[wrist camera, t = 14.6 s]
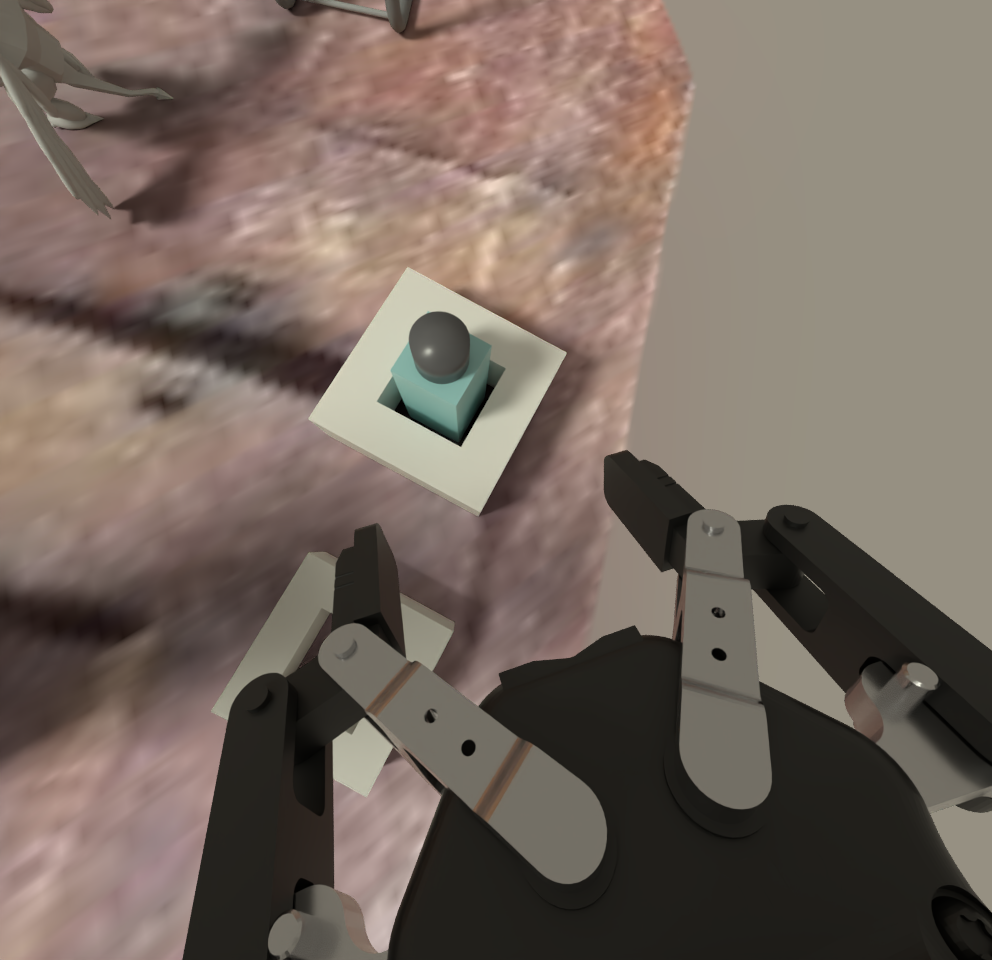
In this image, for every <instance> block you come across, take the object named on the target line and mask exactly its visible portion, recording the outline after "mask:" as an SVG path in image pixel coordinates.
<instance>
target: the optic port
mask: <svg viewBox="0 0 992 960" xmlns="http://www.w3.org/2000/svg"><path fill="white" fill-rule="evenodd" d="M428 311H429V312H436V311H441V312H447V313H450V314H453V315H455V316H456V317H458V318H459V319H460V320H461V321H462V322H463V323H464V324H465V325H466V327H467V329H468V332H469V333H470V334H471V335H473V336H475V337H477V338H479V339H481V340H482V341H484V342H486V343H488V344H490V345H492V348H491V356H490V363H489V371H488V378H487V384H488V385H490V386H492V387H494V390H493V392H492V394H491V395H490V397H489V399H488V401H487V402H486V404H485V406H484V408H483V410H482V411H481V413H480V415H479V417H478V418H477V420H476V422H475V424H474V425H473V427H472V429H471V431H470V432H469V434H468V436H467V438H466V439H465V441H464V443H463V445H462V446H461V447H460V446H458V445H456V444H454V443H452V442H451V441H449V440H447V439H445V438H443V437H441V436H439V435H438V434H436V433H434V432H432V431H430V430H428V429H427V428H425V427H423V426H421V425H419V424H417V423H415V422H414V421H412V420H410V419H408V418H406V417H404V416H403V415H401V414H399V413H397V412H395V409H396V407H397V406H398V404H399V403H400V401H401V399H402V397H401V394H400V392H399V390H398V387H397V385H396V383H395V380H394V378H393V376H392V373H391V371H390V370H391V368H392V367H393V365H394V364H395V362H396V360H397V359H398V357H399V356H400V354H401V353H402V351H403V349H404V348H405V346H406V345H407V343H408V342H409V333H410V330H411V327H412V326H413V324H414V323H415V321H416V320H417V319H419V318H420V317H421V316H423V315H425V314H426V313H427V312H428ZM566 354H567V352H565V351H563V350H561V349H559V348H557V347H556V346H554V345H552V344H550V343H548V342H546V341H544V340H542V339H541V338H539V337H537V336H535V335H533V334H531V333H529V332H528V331H526V330H524V329H522V328H520V327H518V326H516V325H515V324H513V323H511V322H509V321H507V320H505V319H503V318H502V317H500V316H498V315H496V314H494V313H492V312H490V311H489V310H487V309H485V308H483V307H481V306H479V305H477V304H476V303H474V302H472V301H470V300H468V299H466V298H464V297H462V296H461V295H459V294H457V293H455V292H453V291H451V290H449V289H448V288H446V287H444V286H442V285H440V284H438V283H436V282H435V281H433V280H431V279H429V278H427V277H425V276H423V275H422V274H420V273H418V272H416V271H414V270H412V269H410V268H409V267H407V269H406V270H405V272H404V273H403V275H402V276H401V278H400V279H399V281H398V282H397V284H396V285H395V287H394V289H393V290H392V292H391V293H390V295H389V296H388V298H387V299H386V301H385V302H384V304H383V305H382V307H381V308H380V310H379V311H378V313H377V314H376V316H375V318H374V319H373V321H372V322H371V324H370V325H369V327H368V328H367V330H366V331H365V333H364V334H363V336H362V337H361V339H360V340H359V342H358V343H357V345H356V347H355V348H354V350H353V351H352V353H351V354H350V356H349V357H348V359H347V360H346V362H345V363H344V365H343V366H342V368H341V369H340V371H339V372H338V374H337V376H336V377H335V379H334V380H333V382H332V383H331V385H330V386H329V388H328V389H327V391H326V392H325V394H324V395H323V397H322V398H321V400H320V401H319V403H318V405H317V406H316V408H315V409H314V411H313V412H312V414H311V415H310V417H309V418H308V419H309V420H310V421H311V422H312V423H314V424H315V425H316V426H317V427H319V428H320V429H321V430H322V431H324V432H325V433H326V434H327V435H329V436H330V437H332V438H334V439H336V440H337V441H339V442H341V443H343V444H345V445H347V446H349V447H350V448H352V449H354V450H356V451H358V452H360V453H361V454H363V455H365V456H367V457H369V458H371V459H372V460H374V461H376V462H378V463H380V464H382V465H384V466H385V467H387V468H389V469H391V470H393V471H395V472H396V473H398V474H400V475H402V476H404V477H406V478H407V479H409V480H411V481H413V482H415V483H417V484H419V485H420V486H422V487H424V488H426V489H428V490H430V491H431V492H433V493H435V494H437V495H439V496H441V497H443V498H444V499H446V500H448V501H450V502H452V503H454V504H455V505H457V506H459V507H461V508H463V509H465V510H466V511H468V512H470V513H472V514H474V515H476V516H478V517H479V515H480V513H481V511H482V509H483V507H484V505H485V504H486V502H487V500H488V498H489V496H490V494H491V493H492V491H493V489H494V487H495V485H496V483H497V481H498V480H499V478H500V476H501V474H502V472H503V470H504V469H505V467H506V465H507V463H508V461H509V459H510V458H511V456H512V454H513V452H514V450H515V448H516V446H517V445H518V443H519V441H520V439H521V437H522V435H523V434H524V432H525V430H526V428H527V426H528V424H529V422H530V421H531V419H532V417H533V415H534V413H535V411H536V410H537V408H538V406H539V404H540V402H541V400H542V399H543V397H544V395H545V393H546V391H547V389H548V387H549V386H550V384H551V382H552V380H553V378H554V376H555V375H556V373H557V371H558V369H559V367H560V365H561V363H562V361H563V359H564V358H565V356H566Z"/></svg>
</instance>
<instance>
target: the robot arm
mask: <svg viewBox="0 0 992 960" xmlns="http://www.w3.org/2000/svg"><path fill="white" fill-rule="evenodd" d="M604 494H605V498H606V501H607V503H608V505H609V506H610V508H611V509H612V510H613V511H614V513H615V514H616V515H617V516H618V518H619V519H620V520H621V522H622V523H623V524H624V525H625V527H626V528H627V529H628V530H629V532H630V533H631V534H632V535H633V537H634V538H635V539H636V541H637V542H638V543H639V544H640V546H641V547H642V548H643V549H644V551H645V552H646V553H647V554H648V556H649V557H650V558H651V560H652V561H653V562H654V563H655V565H656V566H657V567H658V568H659V570H660V571H661V572H664V571H667V570H670V569H673V568H674V569H675V570H676V572H677V573H678V578H677V589H676V601H675V615H674V628H673V636H672V639H670V638H666V637H660V636H652V635H640V633H639V631H638V630H637V628H636V627H635V626H631V627H629V628H626V629H623V630H620V631H617V632H614V633H612V634H609V635H606V636H603V637H601V638H600V639H599V640H597V641H596V642H594V643H593V644H591V645H590V646H588V647H587V648H586V649H584V650H583V651H581V652H580V653H578V654H577V655H576V656H574V657H571V658H565V659H553V660H542V661H532V662H530V663H527V664H524V665H521V666H518V667H515V668H513V669H510V670H507V671H504V672H501V673H499V677H500V680H501V685H499V686H498V687H497V688H495V689H494V690H493V691H492V692H491V693H490V694H488V695H487V696H486V698H485V699H484V700H483V701H482V702H481V704H480V705H479V707H478V706H477V705H475V704H474V703H473V702H471V701H470V700H469V699H467V698H466V697H465V696H464V695H462V694H461V693H460V692H458V691H457V690H456V689H454V688H453V687H452V686H450V685H449V684H448V683H447V682H445V681H444V680H443V679H441V678H440V677H439V676H437V675H436V674H435V673H433V672H432V671H431V670H430V669H428V668H427V667H426V666H424V665H423V664H421V663H420V662H418V661H413V662H410V661H409V660H407V659H406V651H405V641H404V631H403V621H402V611H401V601H400V591H399V581H398V571H397V566H396V562H395V559H394V556H393V553H392V551H391V549H390V547H389V545H388V542H387V540H386V538H385V536H384V534H383V531H382V529H381V527H380V525H379V524H378V523H376V524H373V525H369V526H366V527H363V528H359V529H356V530H355V532H354V547H350V548H347V549H344V550H343V551H342V552H341V554H340V556H339V558H338V560H337V562H336V567H335V582H334V588H335V590H334V598H333V614H332V630H331V634H330V635H329V636H328V637H327V638H326V639H325V640H324V642H323V643H322V645H321V647H320V650H319V654H318V655H317V656H316V657H315V658H314V659H313V660H312V661H310V662H309V663H307V664H306V665H304V666H303V667H301V668H299V669H298V670H296V671H295V672H293V673H292V674H290V675H288V676H287V677H284V676H283V675H281V674H279V673H267V674H263V675H261V676H259V677H257V678H255V679H254V680H252V681H251V682H249V683H248V684H247V685H246V686H245V687H244V688H243V689H242V690H241V691H240V692H239V694H238V695H237V696H236V698H235V700H234V701H233V703H232V706H231V708H230V712H229V717H228V723H227V728H226V733H225V738H224V744H223V749H222V754H221V759H220V765H219V770H218V775H217V780H216V786H215V791H214V796H213V802H212V807H211V812H210V817H209V823H208V828H207V833H206V838H205V844H204V849H203V854H202V860H201V865H200V870H199V875H198V881H197V886H196V891H195V896H194V902H193V907H192V912H191V917H190V923H189V928H188V933H187V939H186V944H185V949H184V954H183V960H992V912H991V911H990V910H989V909H988V908H987V907H986V906H985V905H984V903H983V902H982V901H981V900H980V898H979V897H978V896H977V895H976V894H975V892H974V891H973V890H972V888H971V887H970V885H969V884H968V882H967V881H966V879H965V878H964V877H963V875H962V873H961V872H960V870H959V869H958V867H957V865H956V864H955V862H954V860H953V859H952V857H951V855H950V854H949V852H948V850H947V849H946V847H945V845H944V843H943V841H942V839H941V837H940V835H939V833H938V831H937V829H936V826H935V825H934V822H933V820H932V817H931V815H930V814H931V813H933V812H937V811H939V810H942V809H945V808H948V807H951V806H954V805H956V806H958V807H960V808H962V809H965V810H968V811H972V812H979V813H983V812H989V811H992V651H991V650H990V649H989V648H988V647H986V646H985V645H984V644H982V643H981V642H980V641H979V640H977V639H976V638H975V637H974V636H972V635H971V634H969V633H968V632H967V631H966V630H965V629H963V628H962V627H961V626H959V625H958V624H957V623H955V622H954V621H953V620H952V619H950V618H949V617H948V616H946V615H945V614H944V613H943V612H941V611H940V610H939V609H938V608H936V607H935V606H934V605H932V604H931V603H930V602H929V601H927V600H926V599H925V598H923V597H922V596H921V595H920V594H918V593H917V592H916V591H914V590H913V589H912V588H911V587H909V586H908V585H907V584H905V583H904V582H903V581H902V580H900V579H899V578H898V577H896V576H895V575H894V574H893V573H891V572H890V571H889V570H887V569H886V568H885V567H884V566H882V565H881V564H880V563H878V562H877V561H876V560H875V559H873V558H872V557H871V556H869V555H868V554H867V553H865V552H864V551H863V550H862V549H860V548H859V547H858V546H856V545H855V544H854V543H852V542H851V541H850V540H848V538H846V537H845V536H844V535H842V534H841V533H840V532H838V531H837V530H836V529H835V528H833V527H832V526H831V525H830V524H828V523H827V522H826V521H824V520H823V519H822V518H821V517H819V516H818V515H816V514H815V513H814V512H812V511H810V510H808V509H805V508H802V507H799V506H794V505H780V506H776V507H773V508H772V509H771V510H769V512H768V513H767V517H766V519H765V520H748V521H736V520H735V519H734V518H733V517H731V516H730V515H728V514H726V513H724V512H721V511H717V510H711V509H705V508H704V507H703V506H702V505H700V504H699V503H698V502H697V501H696V500H695V499H694V498H693V497H692V496H691V495H690V494H688V493H687V492H686V491H685V490H684V489H683V488H682V487H681V486H680V485H679V484H676V482H675V480H673V479H672V478H671V477H669V476H668V474H667V473H666V472H665V471H664V470H663V469H661V468H660V467H659V466H658V465H656V464H653V463H651V462H649V461H647V460H642V461H638V460H637V458H635V457H634V456H633V455H632V454H631V453H630V452H629V451H627V450H625V451H621V452H618V453H615V454H611V455H608V456H606V457H605V459H604ZM804 574H805V575H806V576H807V577H809V578H810V579H811V580H812V581H813V582H814V583H815V584H816V585H817V586H818V587H819V588H820V589H821V590H822V591H823V592H824V593H825V594H824V593H823V592H821V591H820V590H819V589H818V588H817V587H816V586H815V585H814V584H813V583H812V582H811V581H810V580H809V579H808V578H807V577H806V576H805V575H804ZM751 589H753V590H754V591H755V592H756V593H757V594H758V596H759V597H760V598H761V599H762V600H763V601H764V602H765V603H766V604H767V606H768V607H769V608H770V609H771V610H772V611H773V612H774V613H775V615H776V616H777V617H778V618H779V619H780V620H781V621H782V622H783V624H784V625H785V626H786V627H787V628H788V629H789V630H790V631H791V633H792V634H793V635H794V636H795V637H796V638H797V639H798V640H799V642H800V643H801V644H802V645H803V646H804V647H805V648H806V649H807V650H808V652H809V653H810V654H811V655H812V656H813V657H814V658H815V659H816V661H817V662H818V663H819V664H820V665H821V666H822V667H823V668H824V669H825V671H826V672H827V673H828V674H829V675H830V676H831V677H832V679H833V680H834V681H835V682H836V683H837V684H838V685H839V686H840V687H841V689H843V691H844V692H845V693H846V694H845V700H844V701H845V706H846V709H847V712H848V713H849V715H850V717H851V718H852V720H853V725H854V728H855V729H853V728H851V727H850V726H848V725H846V724H844V723H842V722H840V721H838V720H836V719H834V718H832V717H830V716H828V715H826V714H824V713H822V712H820V711H818V710H816V709H814V708H812V707H810V706H808V705H806V704H804V703H802V702H800V701H798V700H796V699H793V698H792V697H790V696H788V695H786V694H784V693H782V692H779V691H778V690H775V689H774V688H772V687H769V686H768V685H766V684H764V683H762V682H760V681H759V676H758V665H757V653H756V641H755V630H754V619H753V606H752V595H751ZM363 718H364V719H365V720H366V721H367V722H368V723H369V724H370V725H371V726H372V727H373V728H374V729H375V730H376V731H377V732H378V733H379V734H380V735H381V736H382V737H383V738H384V739H385V740H386V741H387V742H388V743H389V744H390V745H391V746H392V747H393V748H394V749H395V750H396V751H397V752H398V753H399V754H401V756H402V757H403V758H404V759H405V760H406V761H407V762H408V763H409V764H410V765H411V766H412V767H413V768H414V770H415V771H416V772H417V773H418V774H419V775H420V776H421V777H422V778H423V779H424V780H425V781H426V782H427V783H428V784H429V785H430V786H431V787H432V788H433V789H434V790H435V791H436V792H437V793H438V794H439V795H440V796H441V799H440V802H439V804H438V807H437V810H436V812H435V815H434V818H433V820H432V823H431V825H430V828H429V831H428V833H427V836H426V839H425V841H424V844H423V847H422V849H421V852H420V855H419V857H418V860H417V862H416V865H415V868H414V870H413V873H412V876H411V878H410V881H409V884H408V886H407V889H406V892H405V894H404V897H403V899H402V902H401V905H400V907H399V910H398V913H397V916H396V919H395V922H394V925H393V929H392V933H391V938H390V943H389V949H388V950H387V951H385V952H382V953H378V952H377V951H376V950H375V949H374V948H373V947H372V945H371V943H370V941H369V939H368V937H367V934H366V929H365V924H364V918H363V914H362V911H361V908H360V906H359V904H358V903H357V902H356V901H355V899H353V898H352V897H351V896H349V895H347V894H344V893H342V892H340V891H338V890H335V889H334V821H333V740H334V739H335V738H337V737H338V736H339V735H341V734H342V733H343V732H345V731H346V730H348V729H349V728H350V727H352V726H353V725H354V724H356V723H357V722H358V721H360V720H361V719H363Z"/></svg>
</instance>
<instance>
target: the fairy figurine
mask: <svg viewBox="0 0 992 960" xmlns="http://www.w3.org/2000/svg"><path fill="white" fill-rule="evenodd" d="M24 9H26V10H30V11H34V12H38V13H52V12H53V10H54V9H53V7H52V5H51V4H50V3H49V2H48V1H47V0H0V87H2V86H4V88H5V90H6V92H7V94H8V96H9V98H10V99H11V101H12V102H13V103H15V105H16V106H17V108H18V110H19V111H20V113H21V115H22V116H23V118H24V119H25V120H26V122H27V124H28V126H29V129H30V130H31V132H32V134H33V136H34V137H35V139H36V141H37V143H38V144H39V146H40V148H41V149H42V150H43V152H44V153H45V155H46V156H47V158H48V159H49V161H50V162H51V163H52V165H53V167H54V169H55V170H56V172H57V174H58V175H59V177H60V178H61V180H62V181H63V183H64V185H65V186H66V187H67V189H68V190H69V191H70V193H71V194H72V195H73V196H74V197H75V198H76V199H81V200H82V201H83V202H84V203H85V204H86V205H87V206H88V207H89V208H90V209H92V210H93V211H94V212H95V213H96V214H97V215H98V210H99V211H100V212H102V213H103V214H104V215H106V216H107V217H108V218H110V219H111V217H110V215H109V213H108V211H107V209H106V207H105V205H106V206H108V207H110V208H113V205H112V204H111V203H110V201H109V200H108V198H107V197H106V196H105V194H104V193H103V192H102V191H101V190H100V188H99V187H98V186H97V185H96V184H95V183H94V182H93V181H92V180H91V178H90V177H89V175H88V174H87V172H86V171H85V169H84V168H83V166H82V165H81V164H80V162H79V161H78V160H77V158H76V157H75V156H74V154H73V153H72V152H71V150H70V149H69V148H68V147H67V145H66V144H65V143H64V142H63V141H62V140H61V138H60V137H59V136H58V135H57V133H56V132H55V130H54V128H56V127H61V128H65V129H70V130H71V129H84V128H85V127H87V126H89V125H91V124H93V123H95V122H98V121H100V120H102V119H104V118H102V117H99V116H96V115H93V114H90V113H87V112H84V111H83V110H82V109H81V108H79V107H77V106H75V105H73V104H71V103H70V102H68V101H64V100H61V99H57V98H54V95H55V93H56V90H57V87H56V84H55V83H66V84H68V85H71V86H73V87H77V88H83V89H88V90H93V91H99V92H104V93H109V94H114V95H120V96H125V97H135V96H145V95H153V96H156V97H157V100H158V99H174V98H173V97H171V96H170V95H168V94H167V93H166V92H164V91H163V90H161V89H160V88H159V87H157V88H156V89H155V88H148V89H140V90H128V89H125V88H122V87H119V86H117V85H114V84H111V83H108V82H105V81H102V80H99V79H97V78H95V77H94V76H93V75H92V74H91V73H90V72H89V71H88V70H87V69H86V68H85V66H84V65H83V64H82V63H81V62H80V61H79V60H78V59H77V58H76V57H75V56H74V55H73V54H71V53H70V52H68V51H66V50H65V49H63V48H61V45H60V43H59V41H58V40H57V39H56V38H55V37H54V36H52V35H51V34H50V33H49V32H48V31H46V30H45V29H44V28H42V27H41V26H40V25H39V24H37V23H36V21H35V20H34V19H33V18H32V17H31V16H30V15H28V14H27V13H26V12H25V11H24ZM42 110H43V111H45V112H46V113H47V114H46V115H47V116H48V118H47V117H46V115H45V114H44V112H43V111H42ZM50 122H51V124H50ZM52 126H53V127H54V128H53V127H52ZM97 209H98V210H97ZM113 209H114V208H113ZM98 216H99V215H98Z"/></svg>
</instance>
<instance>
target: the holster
mask: <svg viewBox="0 0 992 960" xmlns="http://www.w3.org/2000/svg"><path fill="white" fill-rule="evenodd" d="M337 560H338V558H336V557H334V556H332V555H330V554H329V553H327V552H308V554H307V556H306V557H305V559H304V561H303V562H302V564H301V565H300V567H299V569H298V570H297V572H296V574H295V575H294V577H293V579H292V580H291V582H290V583H289V585H288V587H287V588H286V590H285V592H284V593H283V595H282V596H281V598H280V600H279V601H278V603H277V605H276V606H275V608H274V609H273V611H272V613H271V614H270V616H269V618H268V619H267V621H266V623H265V624H264V626H263V627H262V629H261V631H260V632H259V634H258V636H257V637H256V639H255V640H254V642H253V644H252V645H251V647H250V649H249V650H248V652H247V653H246V655H245V657H244V658H243V660H242V662H241V663H240V665H239V667H238V668H237V670H236V671H235V673H234V675H233V676H232V678H231V680H230V681H229V683H228V684H227V686H226V688H225V689H224V691H223V693H222V694H221V696H220V697H219V699H218V701H217V702H216V704H215V706H214V707H213V709H212V711H211V712H213V713H214V714H216V715H218V716H220V717H222V718H223V719H225V720H227V721H228V717H229V712H230V708H231V706H232V703H233V701H234V700H235V698H236V696H237V695H238V694H239V692H240V691H241V690H242V689H243V688H244V687H245V686H246V685H247V684H248V683H249V682H251V681H252V680H254V679H255V678H257V677H259V676H261V675H263V674H267V673H279V674H281V675H283V676H284V677H287V676H288V675H290V674H292V673H293V672H295V671H296V670H297V669H298V667H299V665H300V664H301V662H302V660H303V658H304V657H305V655H306V653H307V652H308V650H309V648H310V647H311V645H312V643H313V641H314V640H315V638H316V636H317V635H318V633H319V631H320V629H321V628H322V626H323V624H324V623H325V621H326V619H327V618H328V616H329V614H330V613H332V614H333V598H334V590H335V588H334V582H335V567H336V562H337ZM400 601H401V611H402V621H403V631H404V641H405V651H406V659H407V660H409V661H410V662H413V661H418V662H420V663H421V664H423V665H424V666H426V667H427V668H428V669H430V670H431V671H432V672H433V670H434V668H435V666H436V664H437V662H438V660H439V658H440V657H441V655H442V653H443V651H444V649H445V647H446V645H447V643H448V641H449V639H450V637H451V636H452V634H453V632H454V625H455V622H453V621H451V620H450V619H448V618H446V617H444V616H442V615H440V614H439V613H437V612H435V611H433V610H431V609H429V608H428V607H426V606H424V605H422V604H420V603H418V602H417V601H415V600H413V599H411V598H409V597H407V596H406V595H404V594H402V593H400ZM392 748H393V747H392V746H391V745H390V744H389V743H388V742H387V741H386V740H385V739H384V738H383V737H382V736H381V735H380V734H379V733H378V732H377V731H376V730H375V729H374V728H373V727H372V726H371V725H370V724H369V723H368V722H367V721H366V720H365V719H364V718H363V719H361V720H360V721H358V722H357V723H356V724H354V725H353V726H352V727H350V728H349V729H348V730H346V731H345V732H343V733H342V734H341V735H339V736H338V737H337V738H335V739H334V740H333V779H334V780H336V781H338V782H340V783H341V784H343V785H345V786H347V787H349V788H351V789H352V790H354V791H356V792H358V793H360V794H361V795H363V796H365V797H367V796H368V794H369V792H370V790H371V788H372V786H373V784H374V782H375V780H376V778H377V776H378V775H379V773H380V771H381V769H382V767H383V765H384V763H385V761H386V759H387V757H388V756H389V754H390V752H391V750H392Z"/></svg>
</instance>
